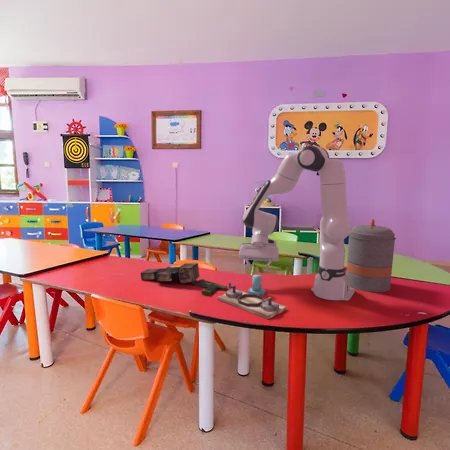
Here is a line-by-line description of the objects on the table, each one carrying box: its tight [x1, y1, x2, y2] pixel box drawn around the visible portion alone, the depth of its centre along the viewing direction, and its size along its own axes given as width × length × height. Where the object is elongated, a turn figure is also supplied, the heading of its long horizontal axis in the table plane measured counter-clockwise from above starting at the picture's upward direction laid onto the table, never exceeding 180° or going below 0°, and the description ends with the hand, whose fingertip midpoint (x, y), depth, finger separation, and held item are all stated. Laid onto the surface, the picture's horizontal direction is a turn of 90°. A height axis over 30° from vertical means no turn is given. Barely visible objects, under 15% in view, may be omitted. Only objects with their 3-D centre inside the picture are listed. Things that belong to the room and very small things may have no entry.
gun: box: [192, 278, 229, 297], centre depth 162 cm, size 2×19×15 cm
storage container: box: [345, 218, 397, 293], centre depth 168 cm, size 22×22×35 cm
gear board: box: [217, 282, 287, 320], centre depth 141 cm, size 13×28×8 cm, turn 46°
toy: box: [140, 262, 201, 284], centre depth 173 cm, size 16×9×30 cm
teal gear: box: [247, 274, 266, 296], centre depth 155 cm, size 8×8×8 cm
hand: (257, 266), depth 161 cm, fingers open, 8 cm apart
